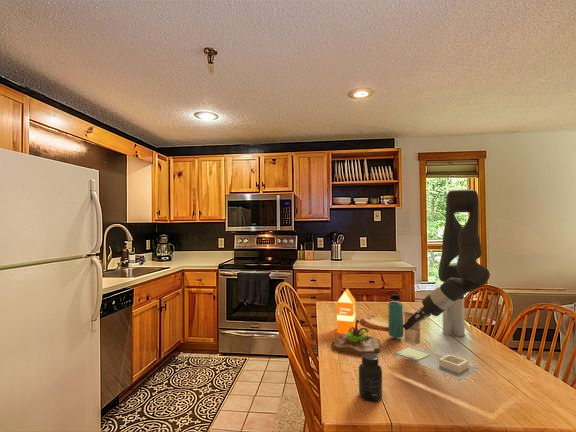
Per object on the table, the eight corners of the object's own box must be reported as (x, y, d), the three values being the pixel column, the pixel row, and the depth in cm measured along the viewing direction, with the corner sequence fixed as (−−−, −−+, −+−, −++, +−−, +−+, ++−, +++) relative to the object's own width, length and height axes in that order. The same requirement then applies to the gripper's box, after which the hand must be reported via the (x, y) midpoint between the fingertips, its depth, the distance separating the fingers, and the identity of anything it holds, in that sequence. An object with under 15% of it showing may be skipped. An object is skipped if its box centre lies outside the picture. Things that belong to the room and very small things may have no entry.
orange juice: (355, 328, 158) (355, 288, 159) (353, 334, 150) (352, 291, 151) (339, 327, 161) (339, 287, 162) (336, 332, 153) (336, 290, 153)
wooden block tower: (410, 340, 127) (410, 309, 128) (420, 343, 124) (419, 312, 124) (404, 342, 125) (404, 311, 125) (414, 345, 122) (413, 313, 122)
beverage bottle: (404, 341, 141) (404, 296, 141) (389, 340, 142) (388, 295, 142) (402, 336, 147) (401, 293, 148) (387, 335, 148) (387, 292, 149)
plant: (385, 343, 139) (385, 318, 140) (374, 360, 122) (374, 330, 123) (342, 336, 149) (342, 311, 150) (326, 350, 132) (326, 323, 132)
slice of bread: (402, 331, 155) (402, 323, 155) (365, 331, 156) (365, 323, 156) (391, 320, 173) (391, 313, 173) (358, 320, 174) (358, 313, 174)
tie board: (412, 348, 133) (412, 339, 133) (479, 371, 112) (479, 361, 112) (392, 356, 125) (392, 347, 125) (459, 383, 104) (459, 372, 104)
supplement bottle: (356, 390, 99) (355, 352, 99) (377, 390, 100) (377, 351, 100) (363, 403, 92) (362, 361, 93) (385, 402, 93) (385, 360, 93)
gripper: (437, 289, 125) (408, 315, 133) (423, 295, 115) (392, 322, 123) (452, 305, 121) (421, 330, 129) (439, 313, 111) (406, 339, 119)
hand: (407, 326), depth 126 cm, fingers closed on wooden block tower, 4 cm apart
